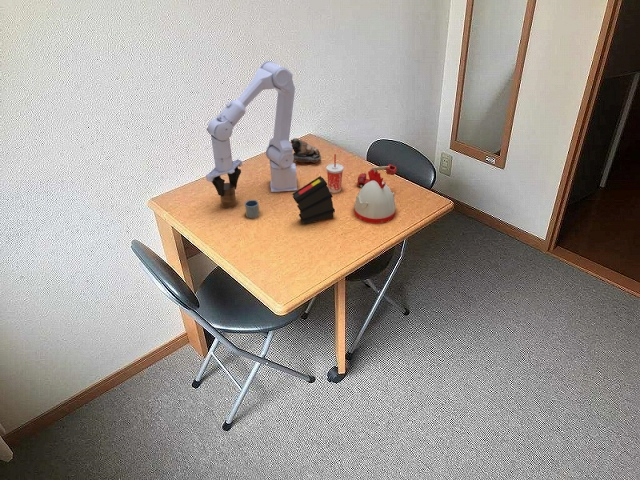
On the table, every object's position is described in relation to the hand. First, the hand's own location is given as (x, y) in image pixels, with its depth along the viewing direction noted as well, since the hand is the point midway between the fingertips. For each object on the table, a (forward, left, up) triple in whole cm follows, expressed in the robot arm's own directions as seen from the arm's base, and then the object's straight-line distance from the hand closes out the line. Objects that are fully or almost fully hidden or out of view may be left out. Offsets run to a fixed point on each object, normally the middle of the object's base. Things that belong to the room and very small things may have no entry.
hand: (227, 192), depth 166 cm
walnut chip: (0, 0, 0) cm, 0 cm away
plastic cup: (-8, +8, -5) cm, 12 cm away
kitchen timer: (-49, +12, -5) cm, 51 cm away
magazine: (-28, +14, -5) cm, 32 cm away
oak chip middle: (0, 0, -3) cm, 3 cm away
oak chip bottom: (0, 0, -5) cm, 5 cm away
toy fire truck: (-53, -4, -5) cm, 53 cm away
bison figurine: (-57, -32, +22) cm, 70 cm away
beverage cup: (-38, -5, -5) cm, 39 cm away
